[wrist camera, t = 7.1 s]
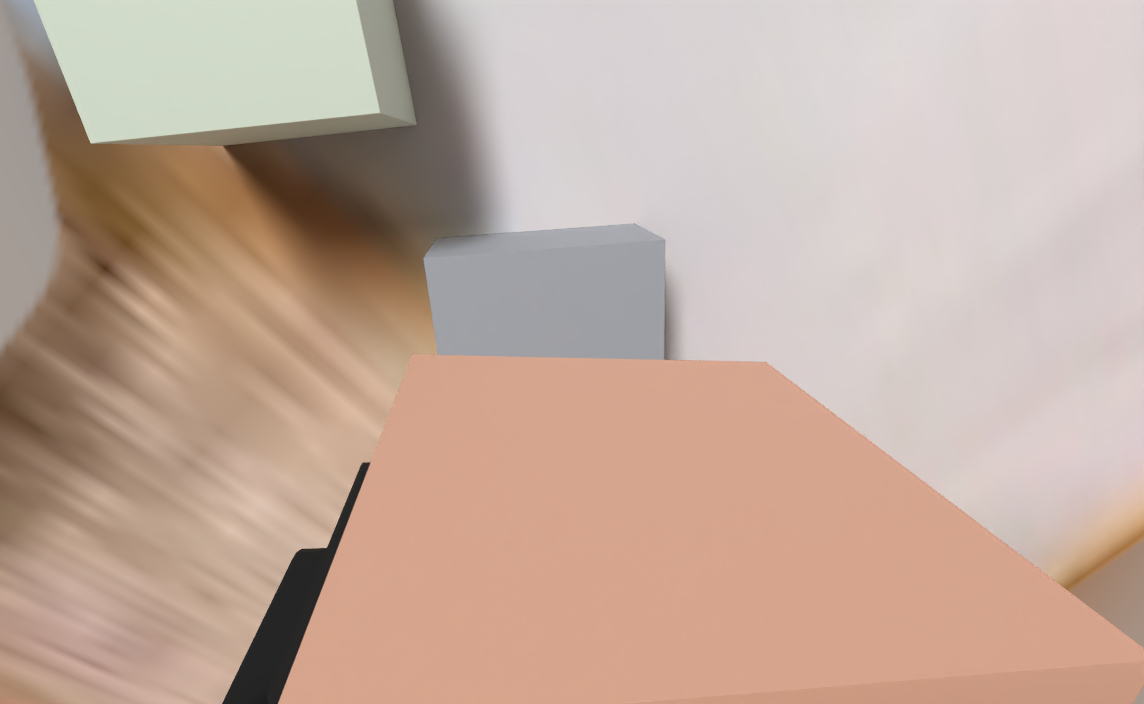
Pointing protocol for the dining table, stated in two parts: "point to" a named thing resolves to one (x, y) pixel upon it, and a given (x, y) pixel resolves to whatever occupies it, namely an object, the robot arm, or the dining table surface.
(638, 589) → the terracotta cube
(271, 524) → the dining table surface
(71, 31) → the sage cube
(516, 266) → the slate-grey block
